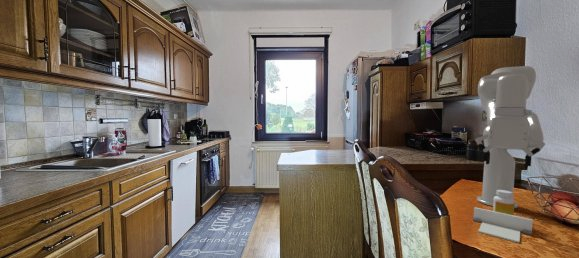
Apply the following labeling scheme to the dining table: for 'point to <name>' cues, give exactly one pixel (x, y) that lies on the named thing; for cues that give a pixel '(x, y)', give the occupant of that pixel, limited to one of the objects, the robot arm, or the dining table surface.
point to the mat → (500, 232)
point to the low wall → (503, 220)
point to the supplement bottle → (503, 202)
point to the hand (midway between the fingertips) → (506, 165)
